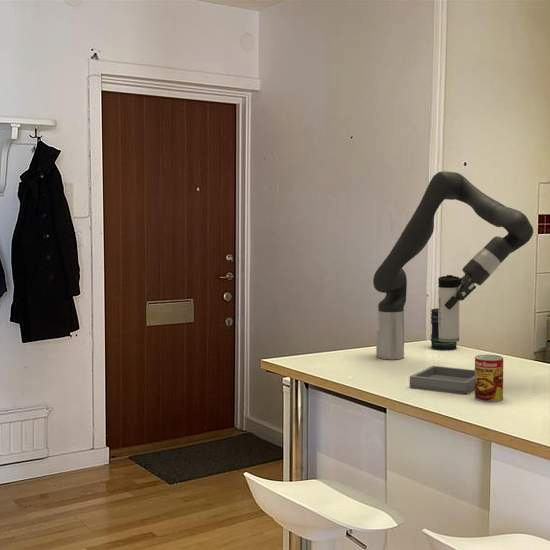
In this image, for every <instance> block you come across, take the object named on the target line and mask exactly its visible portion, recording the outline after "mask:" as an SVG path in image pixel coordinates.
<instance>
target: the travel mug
mask: <svg viewBox="0 0 550 550" xmlns="http://www.w3.org/2000/svg"><path fill="white" fill-rule="evenodd" d="M459 278H460V277H459V276H454V275H453V274H447V275H444V276H443V275H442V276H439V277H438V281H437V283H438V287H437V288H438V289H437V290H438V293H437V295H438V298H437V300H438V301H437V302H438V304H437V305H438V323H439V341H441V342H456V343H458V342H459V341H460V301H458V302H457V303H456V304H455V305H454V306H453V307H452V308H451V309H450V310H449V309H447V308H446V307H445V303H446V302H447V301H448V300H449V299H450V298H451V297H452V296H453V295H454V293H455V292H456V288H457V287H458V285H459ZM453 297H454V296H453Z"/></svg>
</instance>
